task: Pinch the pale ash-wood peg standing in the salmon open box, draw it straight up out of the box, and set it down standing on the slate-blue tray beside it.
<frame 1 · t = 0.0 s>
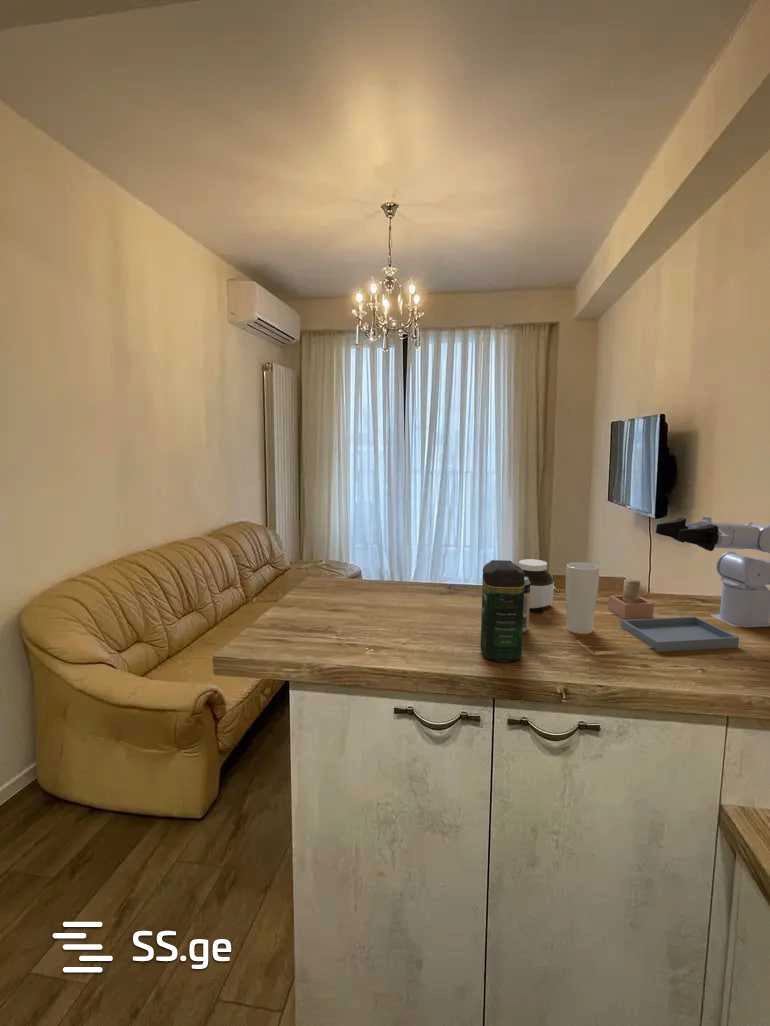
hand: (667, 531, 121), 22 cm above the worktop, tool horizontal, fingers open, 7 cm apart
drinking glass: (579, 632, 121), on the worktop
beer can: (517, 630, 122), on the worktop
ash peg: (630, 613, 131), point 1 cm above the worktop, touching salmon open box
spread jar: (524, 609, 137), on the worktop
salmon open box: (629, 615, 131), on the worktop
slate tray: (676, 637, 117), on the worktop
coffee jar: (500, 654, 110), on the worktop
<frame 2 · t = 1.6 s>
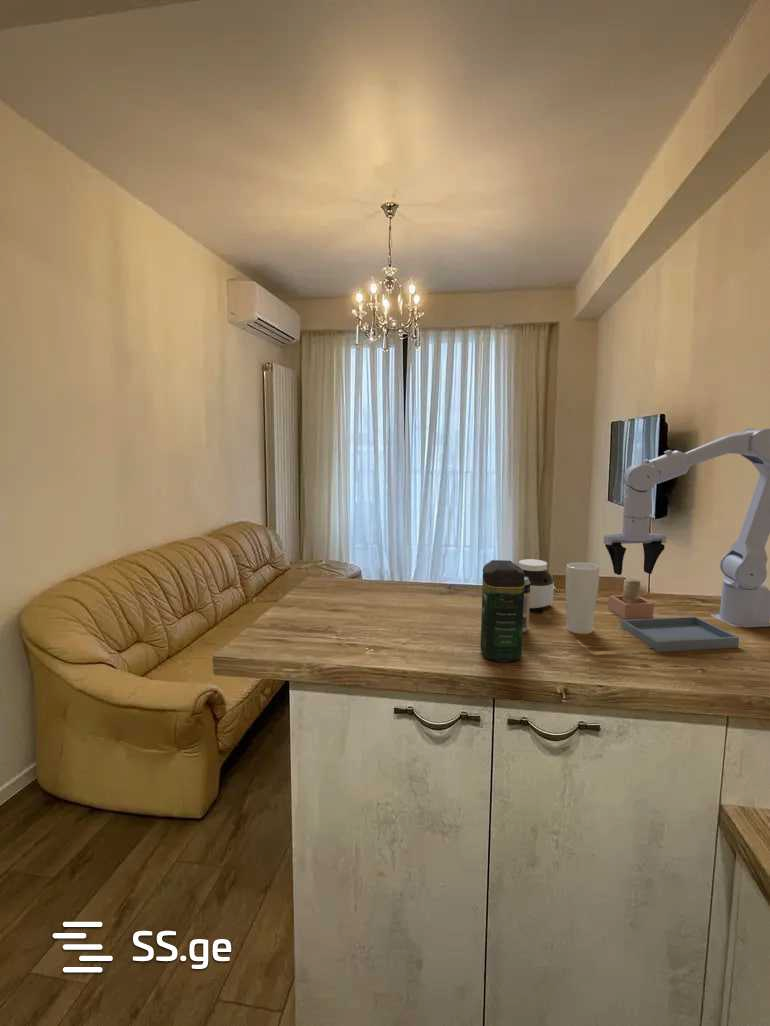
hand: (632, 573, 130), 10 cm above the worktop, tool pointing down, fingers open, 7 cm apart
nothing on the worktop moved.
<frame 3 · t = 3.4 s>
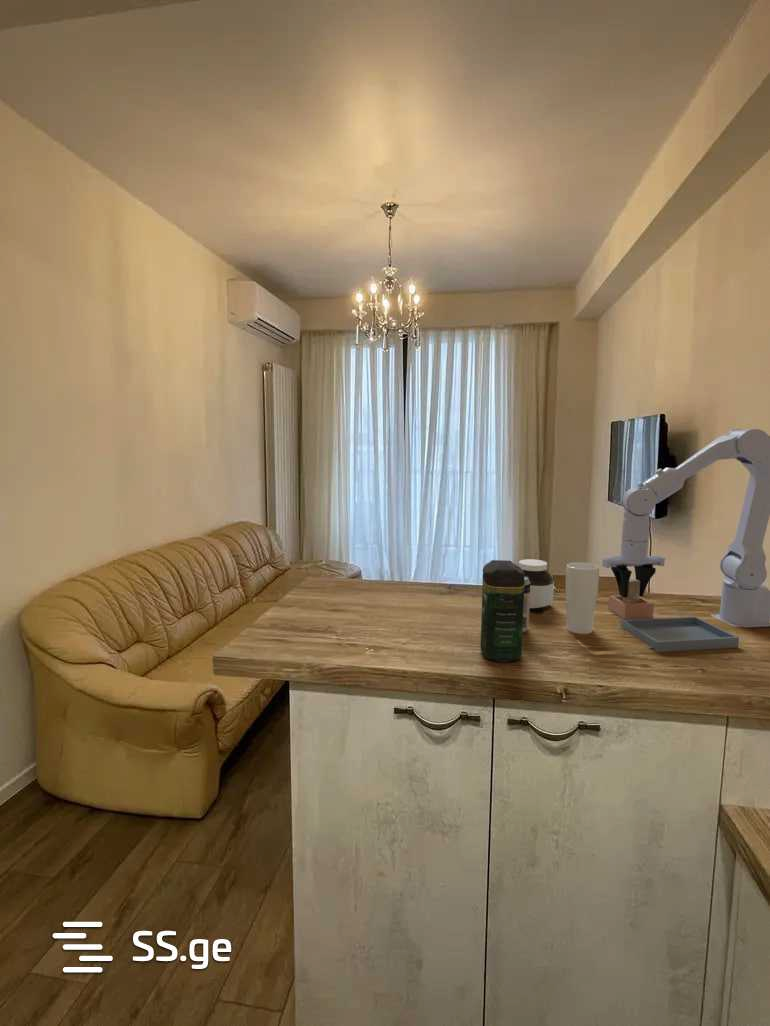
hand: (631, 595, 131), 5 cm above the worktop, tool pointing down, fingers closed on ash peg, 3 cm apart
ash peg: (630, 613, 131), point 1 cm above the worktop, touching gripper, salmon open box
everything else where it was.
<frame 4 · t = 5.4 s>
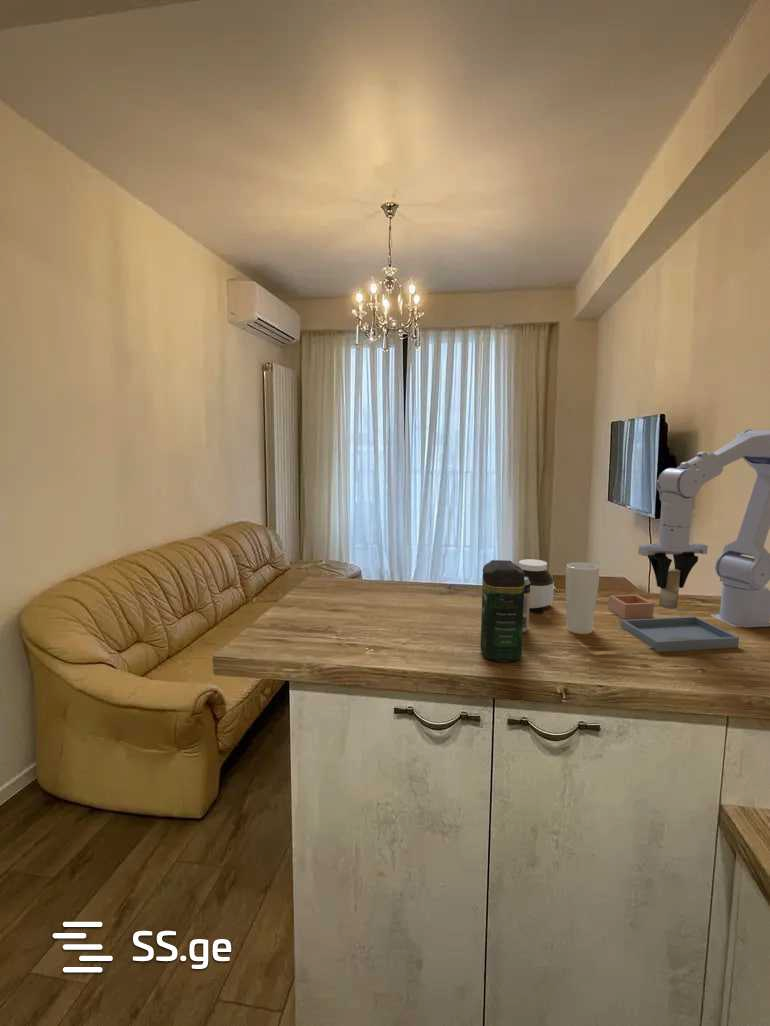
hand: (670, 586, 119), 10 cm above the worktop, tool pointing down, fingers closed on ash peg, 3 cm apart
ash peg: (668, 606, 119), point 6 cm above the worktop, touching gripper
everything else where it was.
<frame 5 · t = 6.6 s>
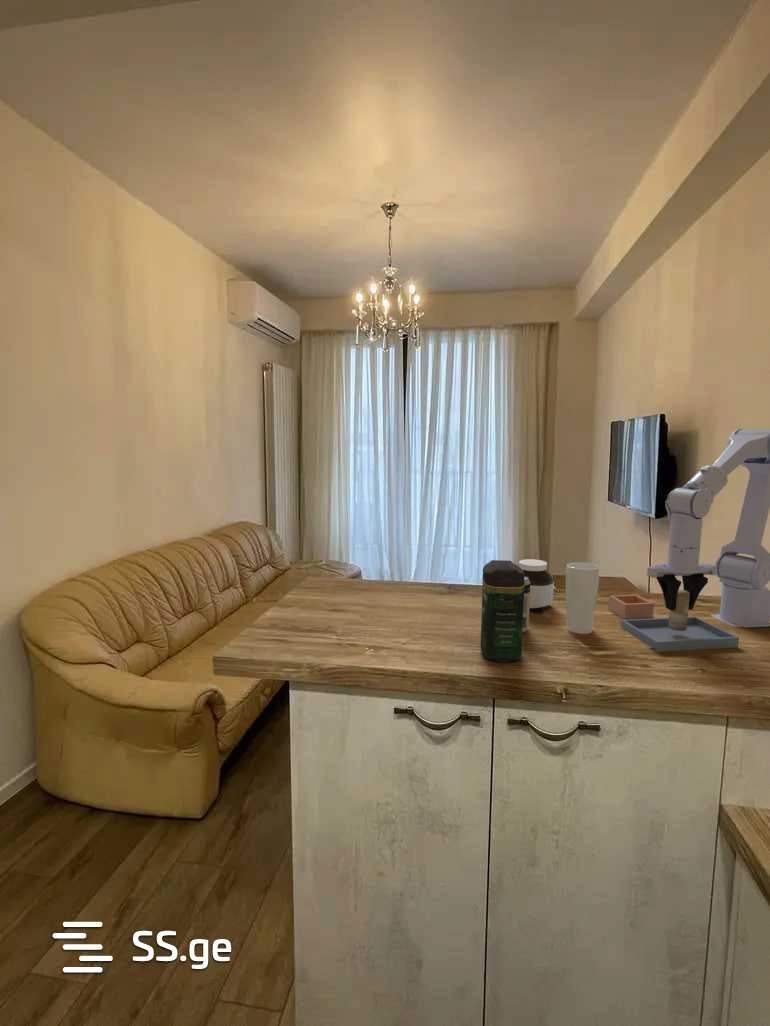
hand: (679, 608, 116), 6 cm above the worktop, tool pointing down, fingers closed on ash peg, 3 cm apart
ash peg: (677, 628, 117), point 2 cm above the worktop, touching gripper
everything else where it was.
when the fingers open (6 cm above the worktop, at t = 7.4 s): ash peg drops 1 cm, resting on slate tray.
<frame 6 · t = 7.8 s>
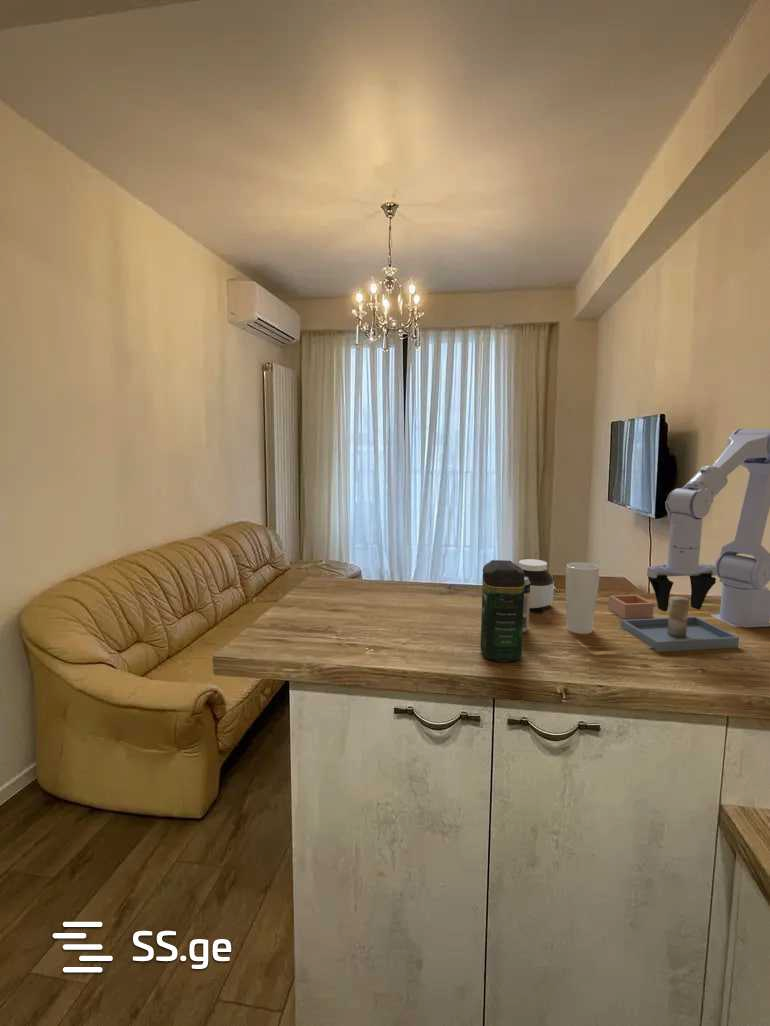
hand: (679, 608, 116), 6 cm above the worktop, tool pointing down, fingers open, 7 cm apart
ash peg: (676, 634, 117), point 1 cm above the worktop, touching slate tray
everything else where it was.
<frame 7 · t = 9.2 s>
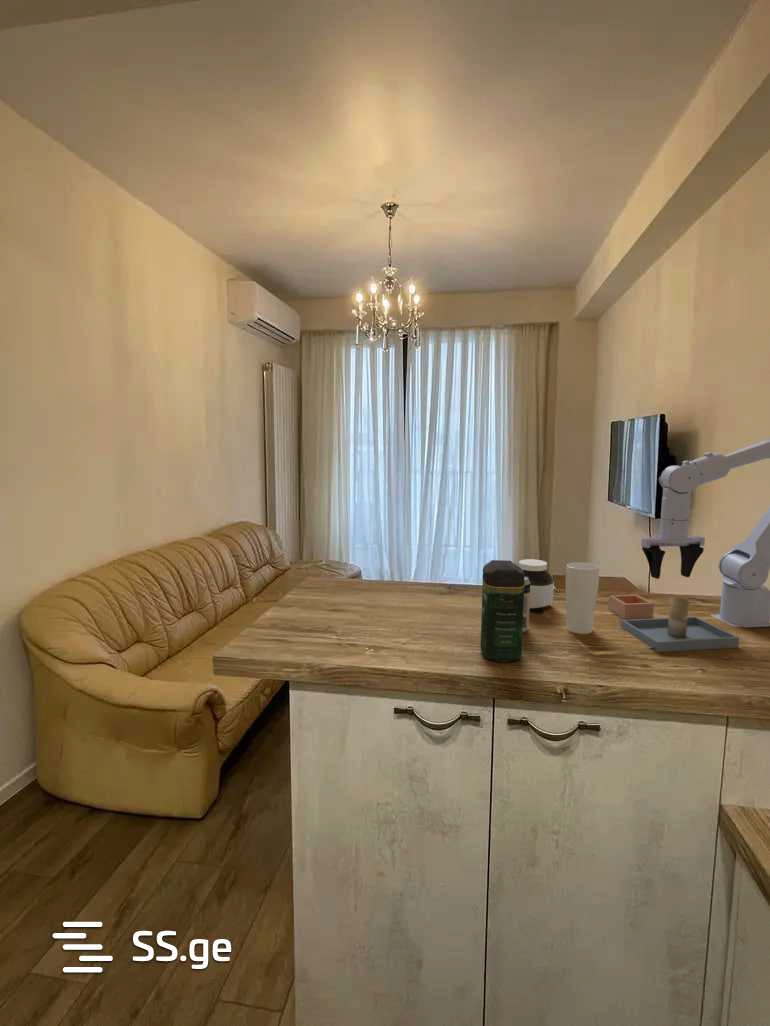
hand: (670, 576, 127), 10 cm above the worktop, tool pointing down, fingers open, 7 cm apart
nothing on the worktop moved.
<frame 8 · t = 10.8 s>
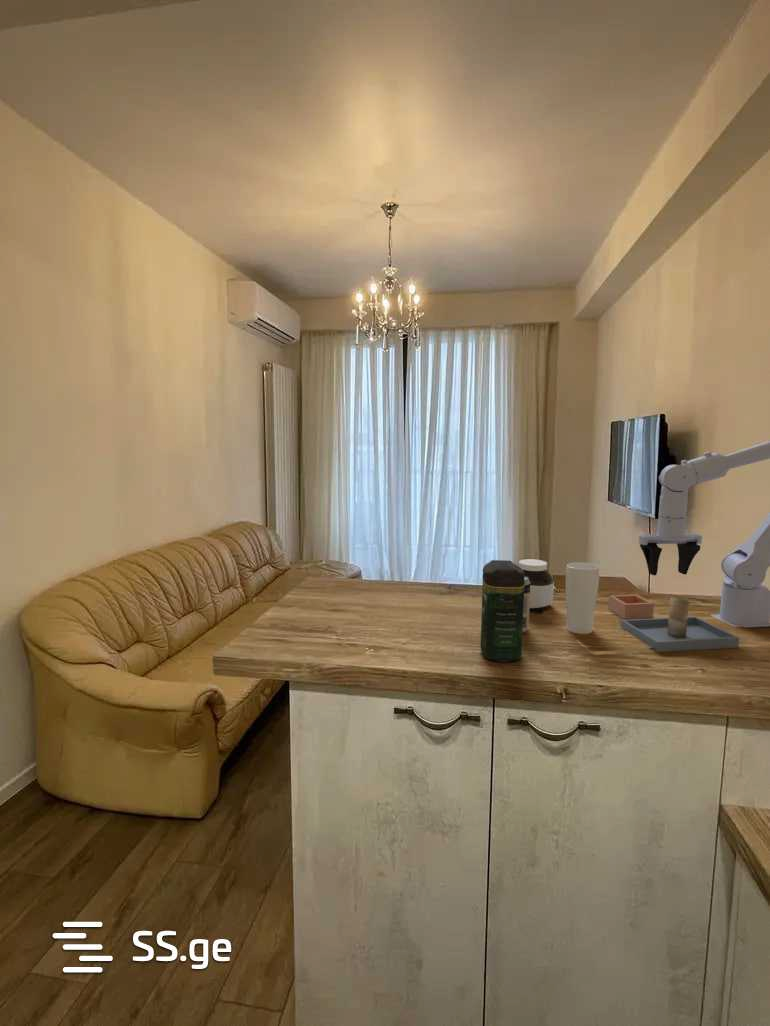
hand: (667, 573, 129), 10 cm above the worktop, tool pointing down, fingers open, 7 cm apart
nothing on the worktop moved.
at the end: ash peg inside the target area on the slate tray (0.1 cm from its centre), point 0.6 cm above the slate tray's base; ash peg tilted 0°; the gripper is holding nothing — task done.
